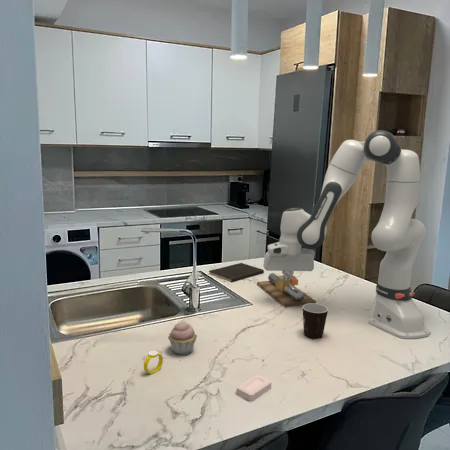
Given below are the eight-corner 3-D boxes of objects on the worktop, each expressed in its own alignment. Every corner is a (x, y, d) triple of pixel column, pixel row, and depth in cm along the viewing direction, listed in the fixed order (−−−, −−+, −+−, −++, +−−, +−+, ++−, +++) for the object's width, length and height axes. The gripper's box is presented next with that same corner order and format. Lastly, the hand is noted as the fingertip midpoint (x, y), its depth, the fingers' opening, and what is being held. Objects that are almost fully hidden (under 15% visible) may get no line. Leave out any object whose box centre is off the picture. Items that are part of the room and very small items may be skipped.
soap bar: (272, 388, 118) (272, 380, 118) (251, 403, 111) (251, 394, 111) (256, 381, 122) (256, 373, 121) (235, 394, 115) (235, 386, 114)
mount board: (315, 304, 179) (315, 300, 179) (285, 307, 174) (285, 304, 174) (284, 282, 205) (284, 279, 204) (257, 285, 200) (257, 281, 200)
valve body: (305, 302, 178) (306, 283, 177) (293, 303, 176) (294, 284, 175) (277, 282, 202) (278, 265, 200) (266, 283, 200) (267, 266, 199)
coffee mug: (304, 327, 156) (306, 301, 154) (328, 333, 152) (330, 306, 150) (294, 340, 146) (296, 312, 144) (320, 346, 142) (322, 318, 140)
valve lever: (281, 272, 189) (281, 267, 188) (288, 272, 189) (288, 267, 189) (291, 285, 173) (291, 280, 172) (298, 285, 173) (299, 280, 173)
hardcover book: (208, 275, 214) (208, 270, 213) (241, 266, 229) (241, 262, 229) (231, 283, 202) (231, 279, 202) (263, 274, 218) (264, 269, 218)
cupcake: (195, 342, 142) (196, 314, 140) (198, 356, 133) (199, 326, 131) (166, 344, 141) (167, 315, 139) (168, 358, 132) (168, 327, 130)
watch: (148, 378, 121) (147, 359, 120) (142, 374, 123) (141, 355, 121) (165, 368, 126) (163, 350, 124) (158, 365, 127) (157, 347, 126)
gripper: (313, 246, 178) (310, 278, 180) (263, 245, 175) (261, 278, 178) (317, 250, 171) (314, 283, 174) (266, 249, 169) (264, 283, 172)
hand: (287, 280), depth 176 cm, fingers closed
